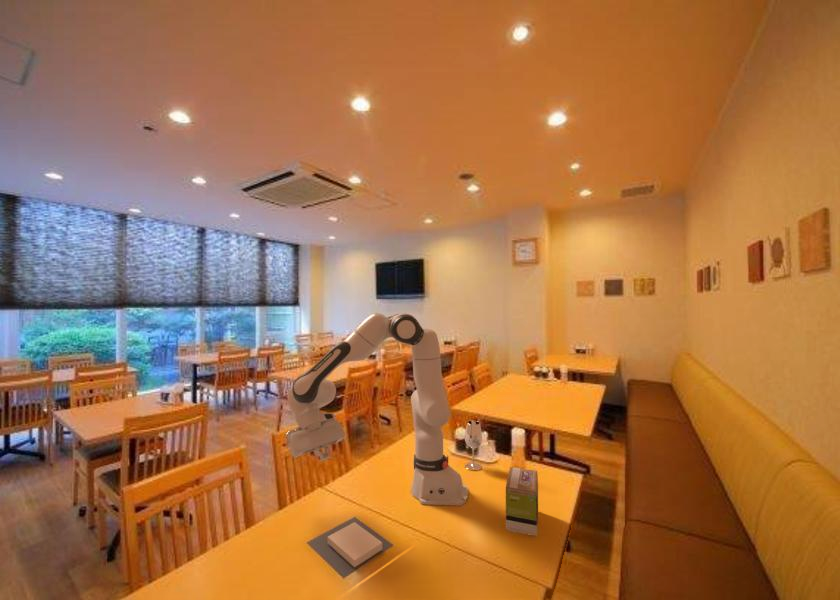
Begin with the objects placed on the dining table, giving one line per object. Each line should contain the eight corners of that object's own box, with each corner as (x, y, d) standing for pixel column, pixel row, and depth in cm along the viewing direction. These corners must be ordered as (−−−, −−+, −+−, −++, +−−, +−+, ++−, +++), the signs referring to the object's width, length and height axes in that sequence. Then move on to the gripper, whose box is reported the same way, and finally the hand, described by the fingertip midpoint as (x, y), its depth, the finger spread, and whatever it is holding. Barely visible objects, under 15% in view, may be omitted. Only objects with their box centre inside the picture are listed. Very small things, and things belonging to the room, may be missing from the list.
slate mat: (306, 544, 109) (306, 542, 109) (354, 518, 122) (354, 516, 122) (343, 580, 95) (343, 578, 95) (393, 546, 108) (393, 545, 108)
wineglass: (462, 463, 163) (463, 419, 163) (479, 462, 164) (479, 419, 164) (466, 471, 155) (466, 425, 155) (484, 470, 156) (484, 425, 156)
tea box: (509, 505, 130) (509, 465, 130) (538, 511, 126) (538, 469, 126) (505, 530, 116) (505, 485, 116) (537, 537, 112) (537, 491, 112)
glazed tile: (327, 536, 108) (354, 560, 98) (354, 521, 115) (382, 542, 105) (327, 544, 108) (354, 568, 98) (354, 529, 115) (382, 550, 105)
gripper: (286, 427, 121) (301, 465, 114) (337, 412, 135) (353, 444, 129) (280, 437, 124) (295, 474, 117) (331, 421, 139) (346, 453, 132)
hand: (326, 458), depth 123 cm, fingers closed
